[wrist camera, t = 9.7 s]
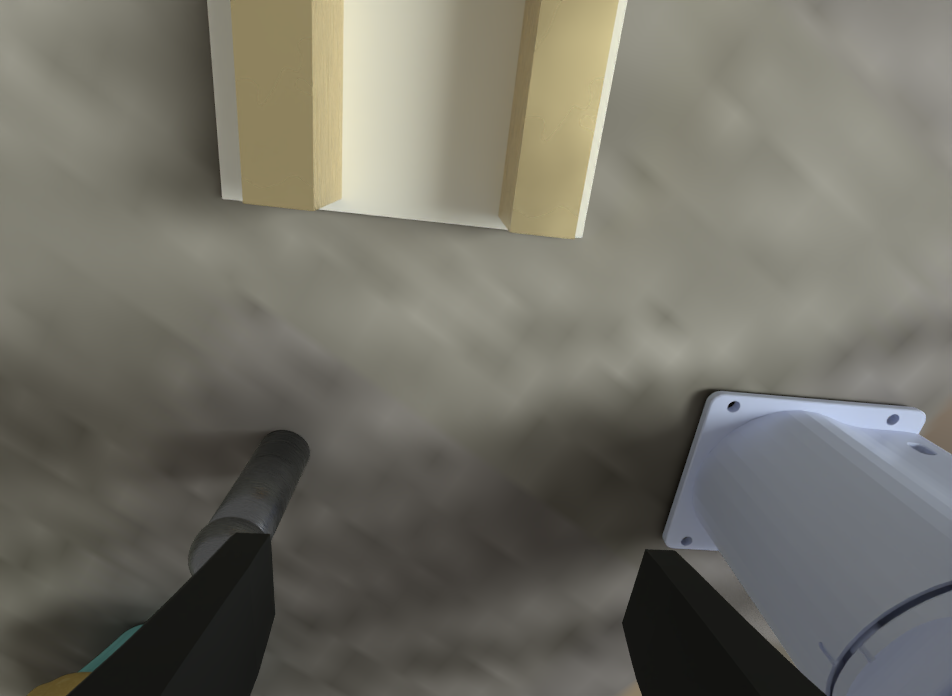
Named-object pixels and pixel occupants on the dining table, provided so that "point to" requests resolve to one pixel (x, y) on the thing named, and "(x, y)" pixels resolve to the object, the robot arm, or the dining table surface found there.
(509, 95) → the coaster
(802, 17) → the dining table surface
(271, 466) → the post
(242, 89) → the c link
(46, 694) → the cupcake
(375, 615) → the dining table surface
